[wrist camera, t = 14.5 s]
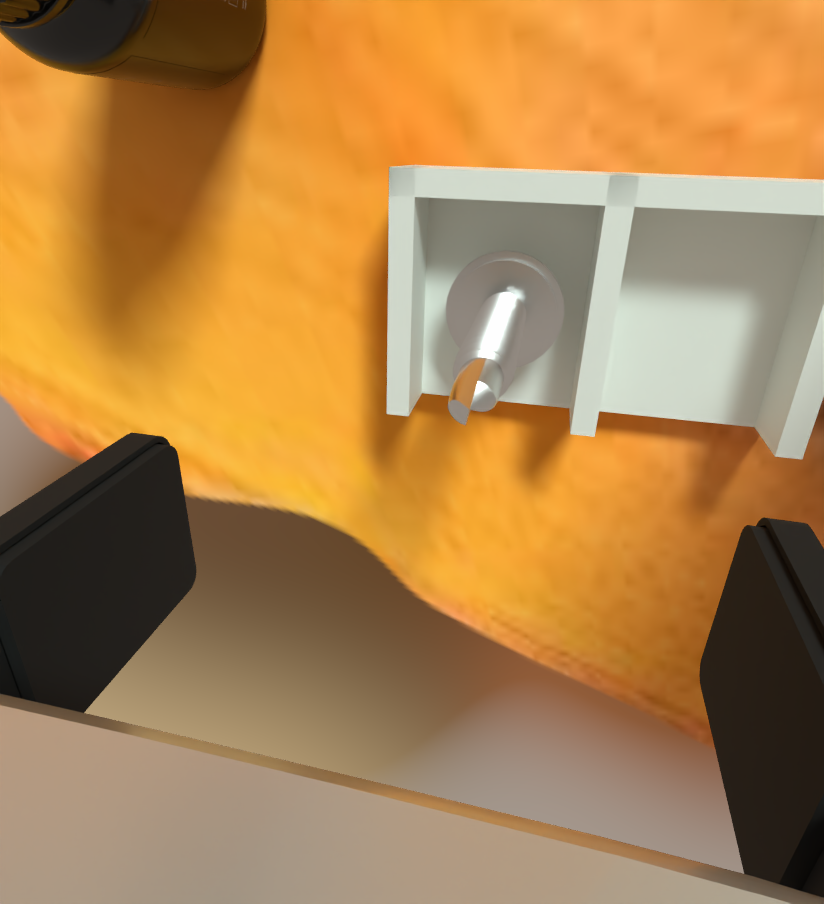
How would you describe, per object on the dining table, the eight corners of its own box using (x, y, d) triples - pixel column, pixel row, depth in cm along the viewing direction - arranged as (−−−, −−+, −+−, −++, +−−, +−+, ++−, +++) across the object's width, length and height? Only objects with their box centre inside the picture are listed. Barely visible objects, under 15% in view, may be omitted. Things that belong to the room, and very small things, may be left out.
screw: (579, 260, 26) (543, 367, 28) (468, 231, 26) (442, 338, 29) (594, 346, 15) (532, 513, 17) (398, 292, 15) (363, 462, 17)
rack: (843, 180, 24) (895, 185, 20) (770, 419, 28) (802, 459, 25) (412, 164, 27) (389, 167, 23) (407, 383, 31) (386, 414, 28)
